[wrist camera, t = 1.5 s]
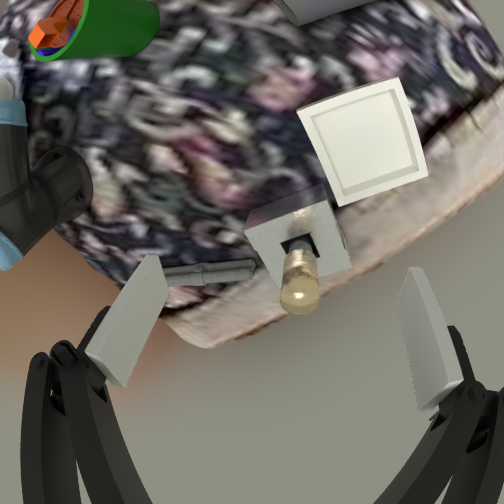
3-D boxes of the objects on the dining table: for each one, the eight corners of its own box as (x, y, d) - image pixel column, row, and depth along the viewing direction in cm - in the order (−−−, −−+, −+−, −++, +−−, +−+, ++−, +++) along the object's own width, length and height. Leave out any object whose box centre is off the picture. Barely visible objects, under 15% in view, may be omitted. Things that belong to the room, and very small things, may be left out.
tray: (335, 196, 38) (338, 206, 36) (296, 109, 32) (296, 111, 29) (418, 167, 33) (428, 175, 30) (389, 77, 27) (398, 77, 24)
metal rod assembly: (142, 277, 55) (132, 292, 51) (136, 267, 54) (125, 282, 50) (258, 265, 49) (254, 284, 45) (254, 253, 47) (250, 271, 43)
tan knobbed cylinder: (293, 243, 44) (289, 318, 32) (282, 221, 42) (273, 293, 30) (318, 234, 43) (324, 309, 30) (308, 211, 41) (311, 282, 28)
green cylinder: (136, -7, 22) (40, -29, 6) (173, 17, 25) (77, -10, 9) (98, 42, 27) (-3, 52, 11) (130, 68, 30) (26, 84, 14)
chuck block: (281, 265, 48) (278, 289, 43) (250, 210, 42) (243, 231, 37) (347, 244, 43) (352, 267, 38) (322, 182, 38) (326, 199, 33)
